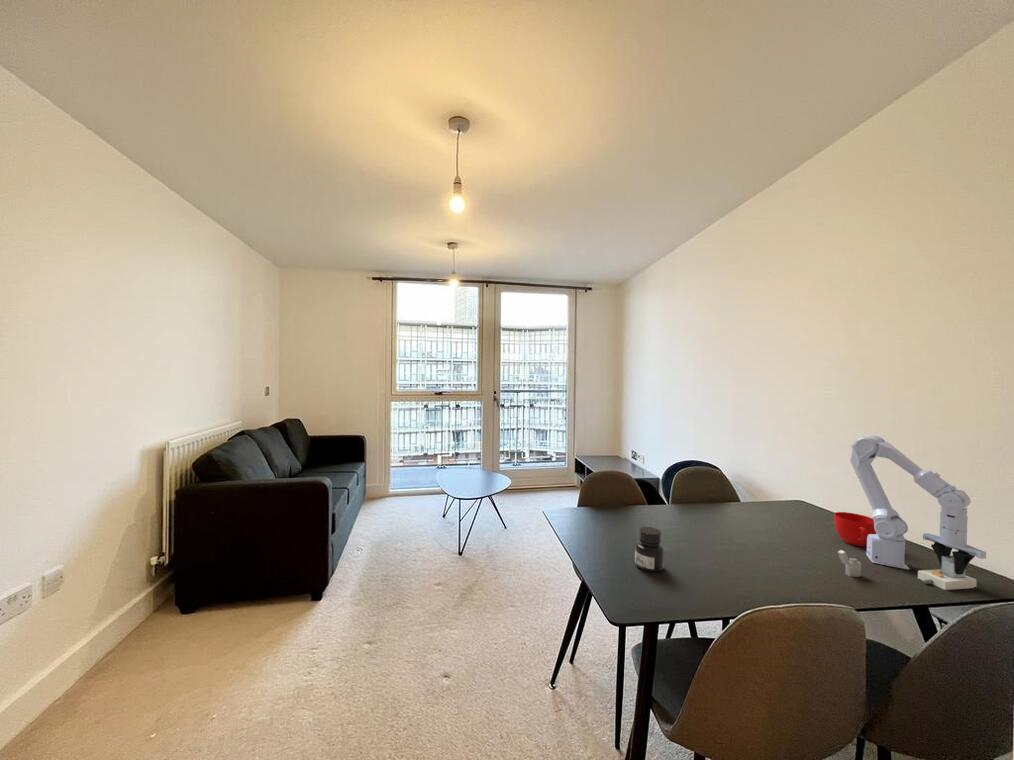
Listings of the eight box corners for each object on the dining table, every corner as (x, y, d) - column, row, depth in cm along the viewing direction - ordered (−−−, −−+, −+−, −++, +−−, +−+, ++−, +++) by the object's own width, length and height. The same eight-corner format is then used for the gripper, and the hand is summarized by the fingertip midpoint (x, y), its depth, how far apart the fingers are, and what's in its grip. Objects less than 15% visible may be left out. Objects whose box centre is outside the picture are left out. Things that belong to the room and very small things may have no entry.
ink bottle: (628, 561, 133) (629, 526, 133) (649, 558, 136) (650, 523, 136) (648, 575, 124) (649, 537, 124) (670, 571, 127) (671, 534, 127)
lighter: (856, 573, 129) (856, 549, 129) (861, 576, 127) (862, 551, 127) (836, 574, 128) (837, 549, 128) (841, 576, 126) (842, 552, 126)
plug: (953, 582, 123) (953, 560, 123) (941, 577, 126) (941, 555, 126) (964, 581, 124) (965, 559, 124) (952, 576, 127) (953, 555, 126)
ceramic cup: (841, 549, 148) (842, 522, 148) (829, 533, 163) (830, 509, 163) (887, 557, 142) (887, 529, 142) (870, 540, 157) (871, 515, 157)
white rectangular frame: (938, 590, 119) (939, 580, 119) (911, 578, 126) (912, 569, 126) (976, 587, 122) (976, 577, 122) (947, 576, 129) (948, 566, 129)
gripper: (994, 537, 118) (993, 582, 118) (935, 519, 132) (934, 559, 132) (976, 538, 117) (974, 583, 117) (918, 520, 131) (916, 560, 131)
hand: (951, 571), depth 125 cm, fingers closed on plug, 3 cm apart
